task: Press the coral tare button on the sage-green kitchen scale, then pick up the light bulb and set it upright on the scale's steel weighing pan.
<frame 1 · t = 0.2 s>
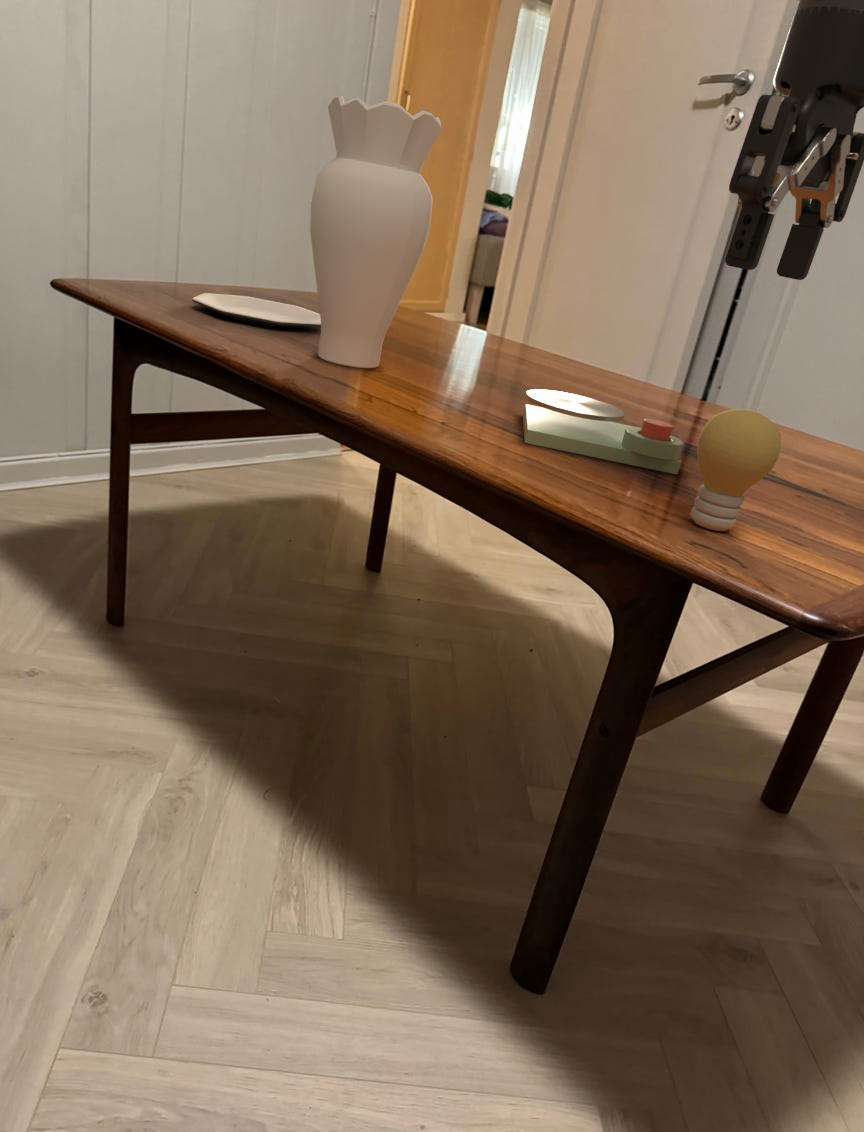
hand: (765, 273, 68), 20 cm above the table, tool pointing down, fingers open, 8 cm apart
scale pan: (574, 407, 100), resting on scale
tare button: (656, 431, 93), point 4 cm above the table, slide at 0.1 cm
scale: (594, 443, 99), on the table
light bulb: (709, 528, 78), on the table
plate: (261, 319, 137), on the table
vase: (347, 362, 118), on the table
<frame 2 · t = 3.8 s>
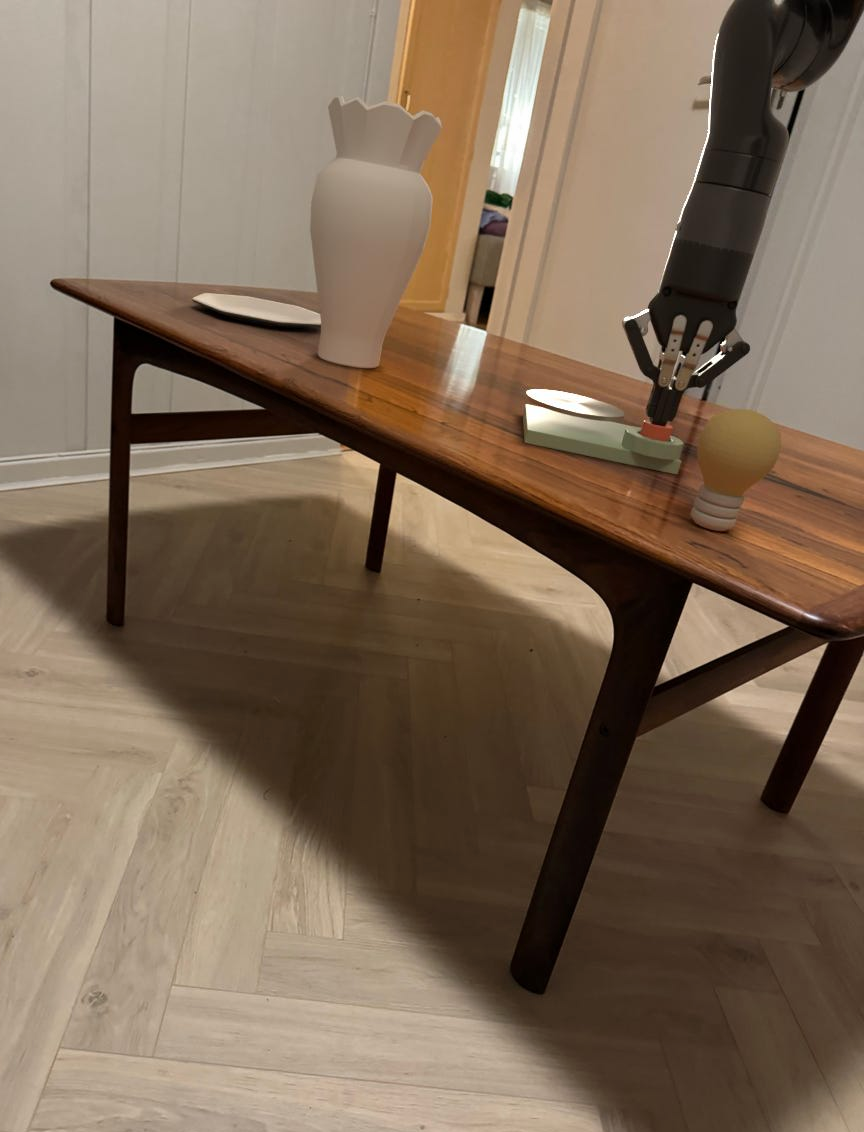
hand: (657, 423, 93), 4 cm above the table, tool pointing down, fingers closed
tare button: (655, 432, 93), point 3 cm above the table, slide at 0.0 cm, touching gripper
everything else where it was.
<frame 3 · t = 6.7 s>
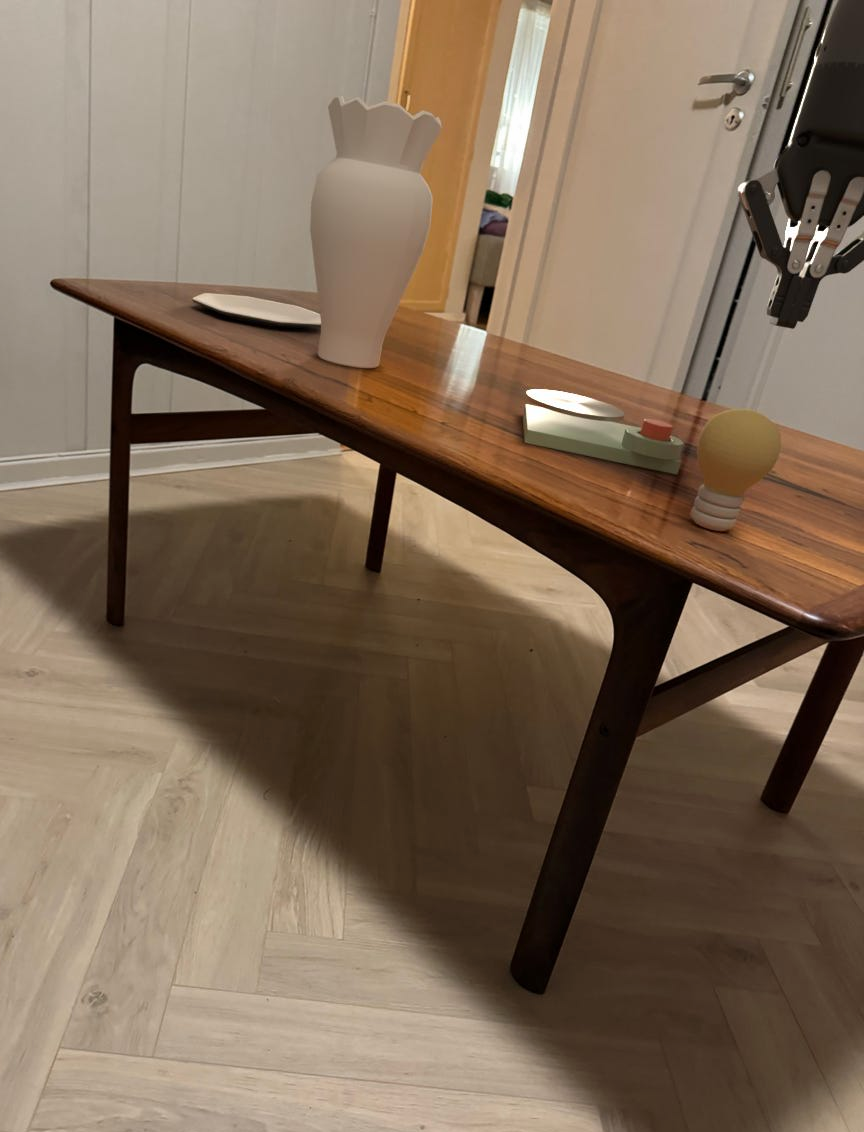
hand: (782, 326, 71), 17 cm above the table, tool pointing down, fingers closed
tare button: (656, 431, 93), point 3 cm above the table, slide at 0.1 cm
everything else where it was.
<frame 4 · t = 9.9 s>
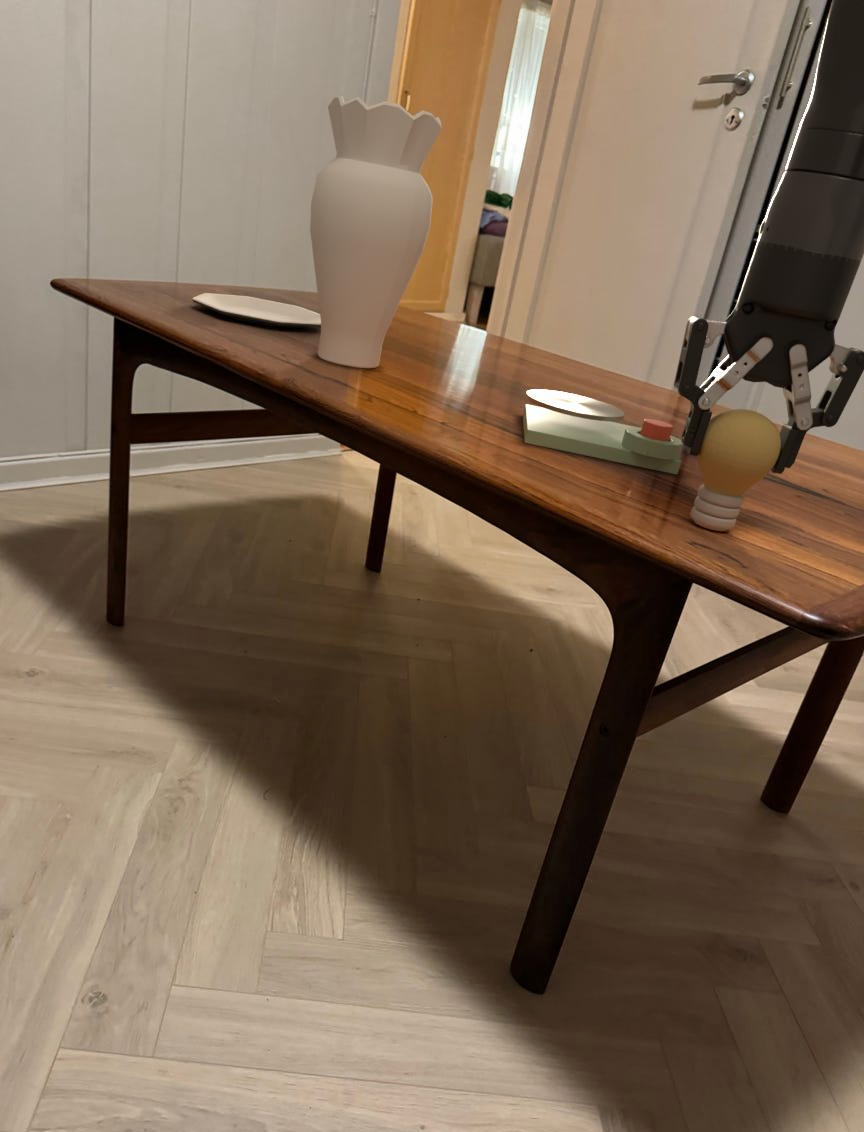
hand: (733, 461, 75), 6 cm above the table, tool pointing down, fingers closed on light bulb, 6 cm apart
light bulb: (709, 528, 78), on the table, touching gripper
everything else where it was.
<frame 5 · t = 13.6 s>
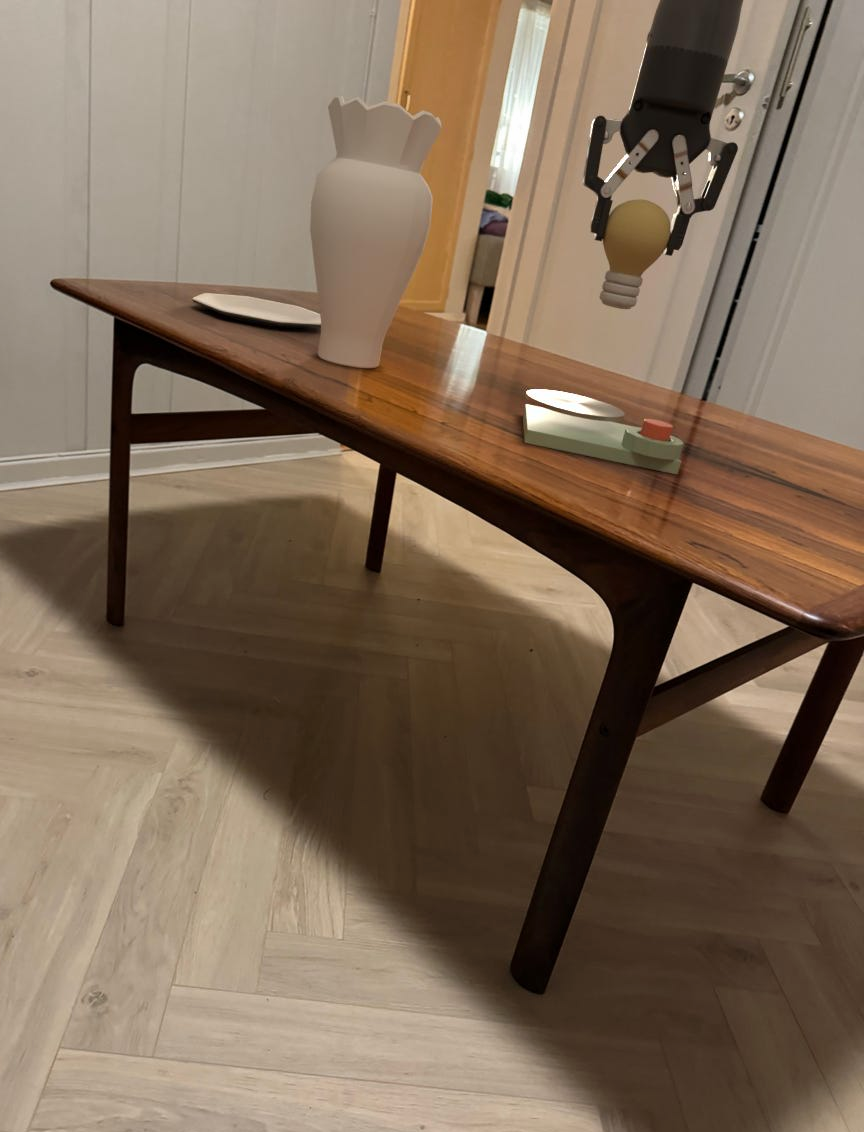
hand: (632, 247, 90), 20 cm above the table, tool pointing down, fingers closed on light bulb, 6 cm apart
light bulb: (615, 309, 92), point 14 cm above the table, touching gripper
everything else where it was.
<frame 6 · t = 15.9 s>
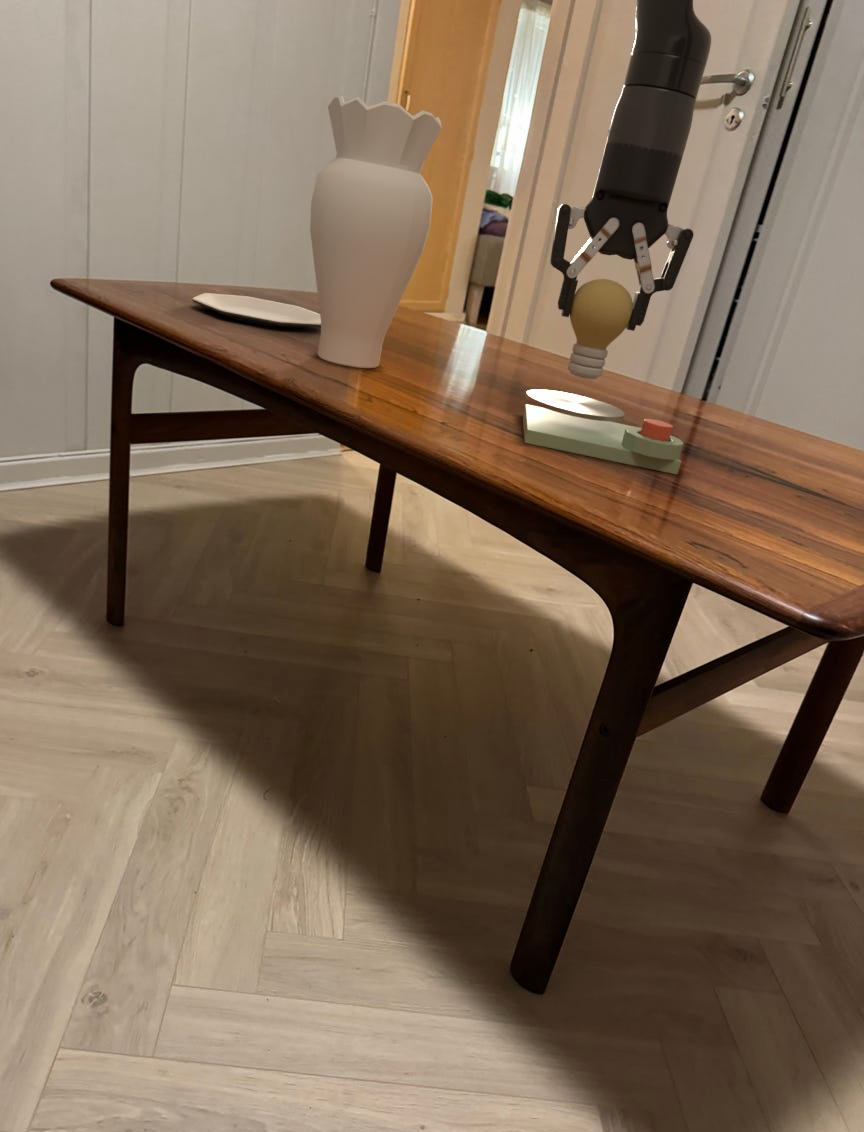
hand: (597, 322, 96), 12 cm above the table, tool pointing down, fingers closed on light bulb, 6 cm apart
light bulb: (582, 378, 98), point 6 cm above the table, touching gripper
everything else where it was.
when the fingers open (9 cm above the table, at t = 17.4 s): light bulb stays where it is, resting on scale pan.
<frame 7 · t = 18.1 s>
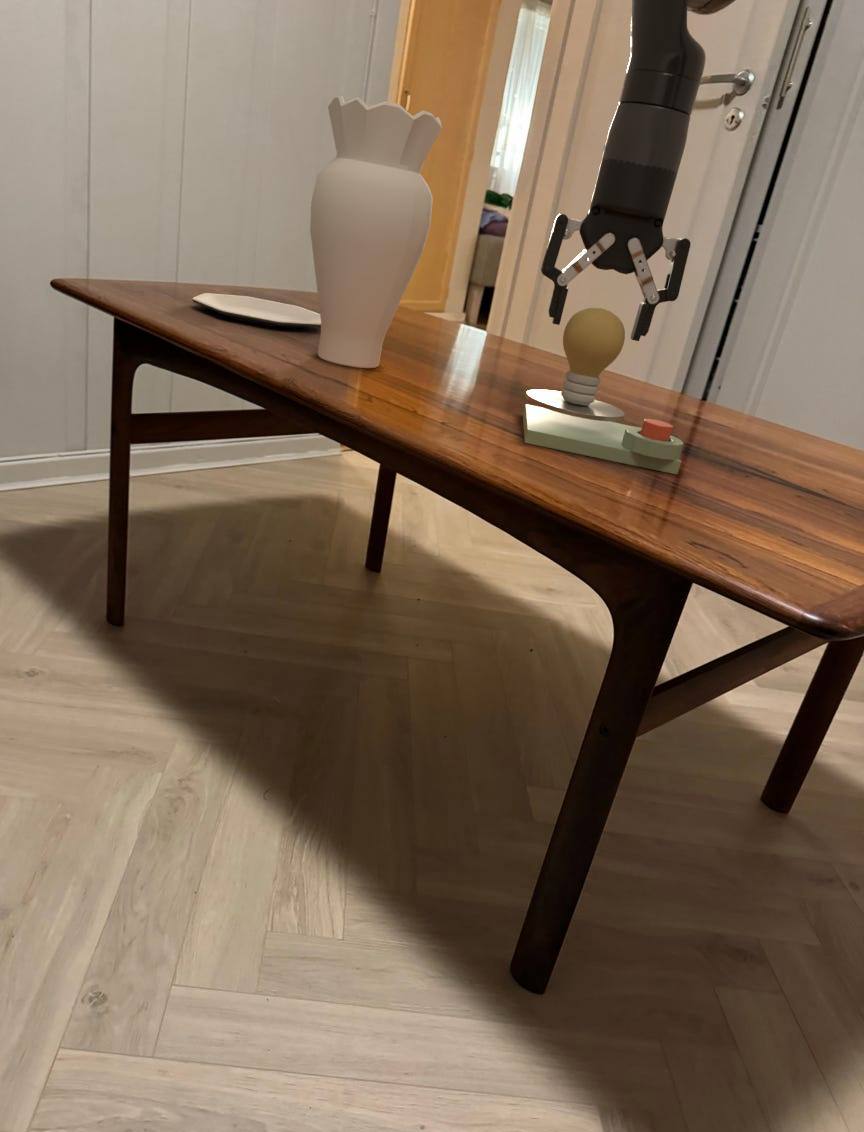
hand: (595, 331, 96), 11 cm above the table, tool pointing down, fingers open, 8 cm apart
light bulb: (575, 404, 100), point 3 cm above the table, touching scale pan
everything else where it was.
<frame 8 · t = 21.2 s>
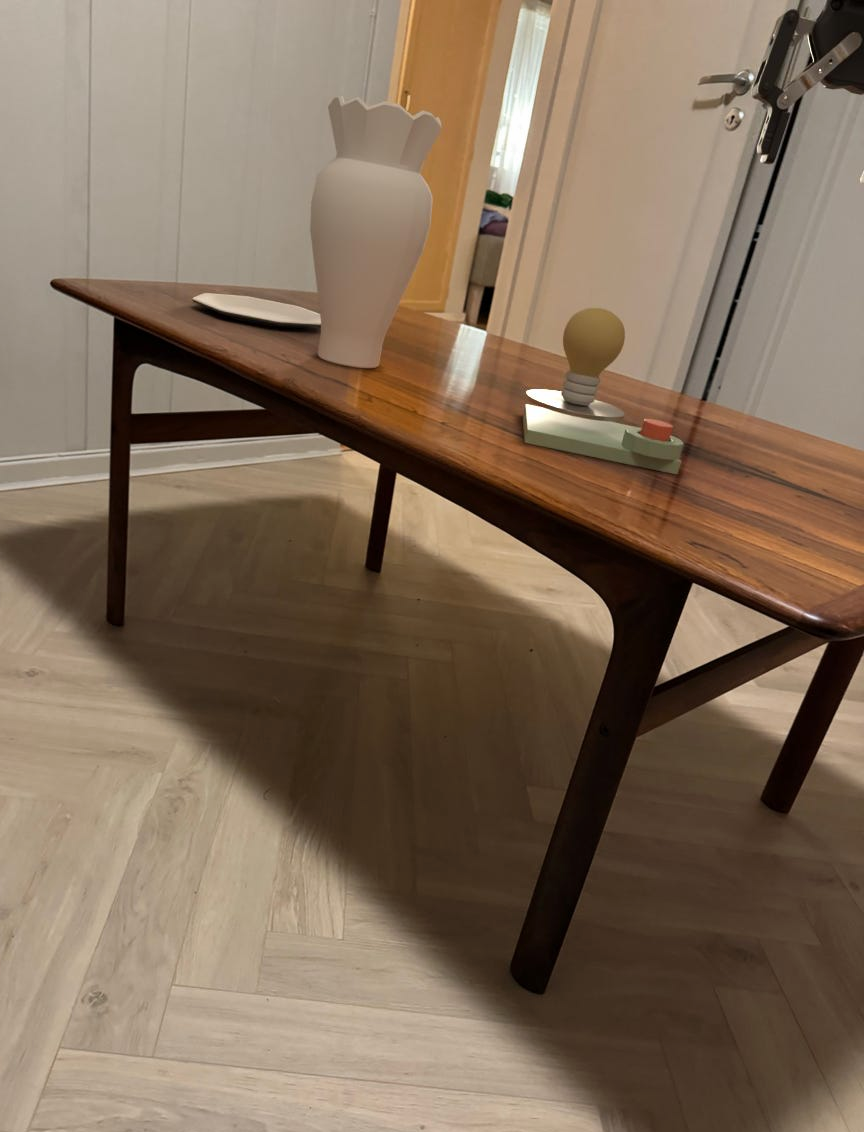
hand: (817, 173, 76), 28 cm above the table, tool pointing down, fingers open, 8 cm apart
nothing on the table moved.
at the end: tare button pushed in 0.9 cm at the most during the clip, back to where it started at the end; tare button slide at 0.1 cm; light bulb inside the target area on the scale (0.1 cm from its centre), point 3.3 cm above the scale's base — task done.
